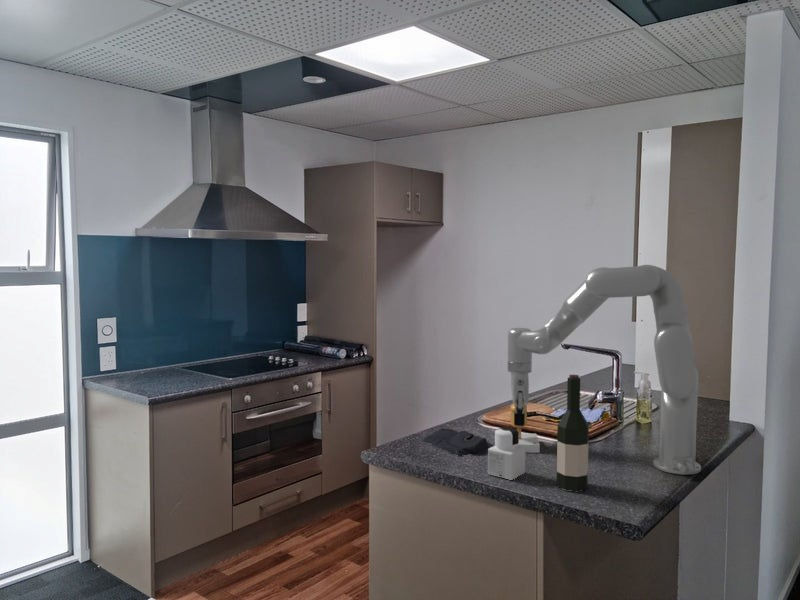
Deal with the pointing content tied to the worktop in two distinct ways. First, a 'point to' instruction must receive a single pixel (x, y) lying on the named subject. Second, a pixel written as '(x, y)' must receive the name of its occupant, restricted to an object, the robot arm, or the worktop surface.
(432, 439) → the black folded cloth
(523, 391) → the robot arm
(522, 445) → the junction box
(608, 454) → the worktop surface
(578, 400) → the wine bottle
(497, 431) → the container
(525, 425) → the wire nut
